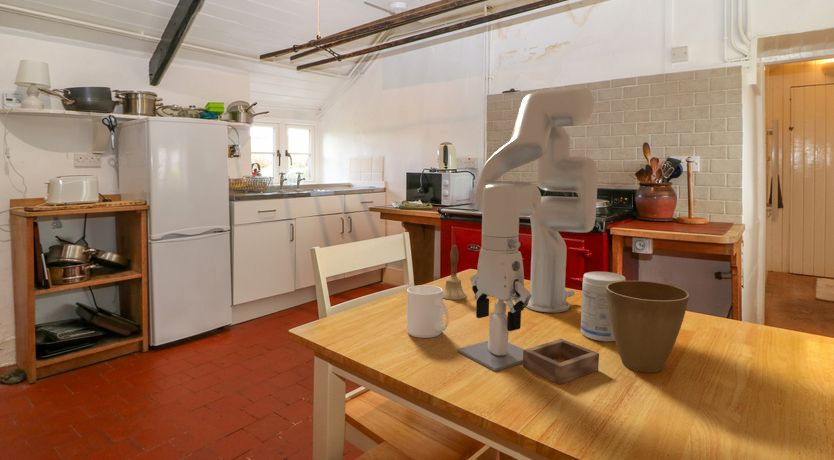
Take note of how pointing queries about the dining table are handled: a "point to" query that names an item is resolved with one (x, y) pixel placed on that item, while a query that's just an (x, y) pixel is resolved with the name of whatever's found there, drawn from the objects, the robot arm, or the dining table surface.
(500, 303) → the eye dropper bottle
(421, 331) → the mug
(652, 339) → the plant pot
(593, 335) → the supplement tub
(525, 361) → the box
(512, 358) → the coaster
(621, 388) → the dining table surface
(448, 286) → the hand bell
